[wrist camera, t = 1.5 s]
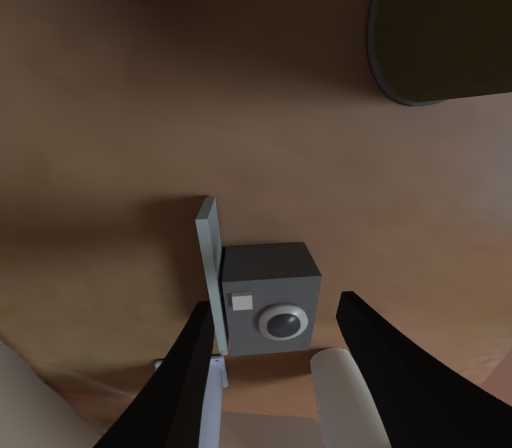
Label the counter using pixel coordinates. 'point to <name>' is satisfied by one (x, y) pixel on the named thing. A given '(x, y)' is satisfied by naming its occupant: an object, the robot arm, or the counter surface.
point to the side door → (213, 268)
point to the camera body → (270, 297)
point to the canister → (440, 48)
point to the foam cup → (345, 403)
